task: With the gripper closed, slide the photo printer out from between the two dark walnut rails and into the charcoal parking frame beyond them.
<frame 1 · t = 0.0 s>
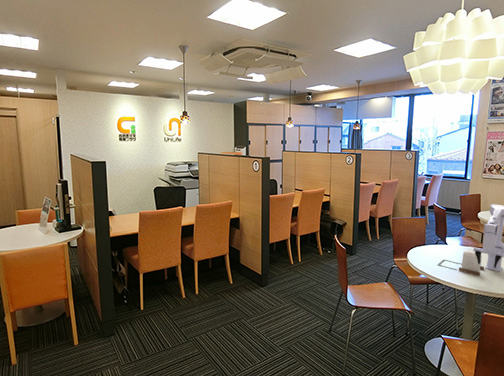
hand: (486, 265, 184), 10 cm above the table, tool pointing down, fingers open, 7 cm apart
walnut rails: (471, 270, 202), on the table
charcoal frame: (450, 264, 210), on the table
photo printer: (470, 270, 202), on the table
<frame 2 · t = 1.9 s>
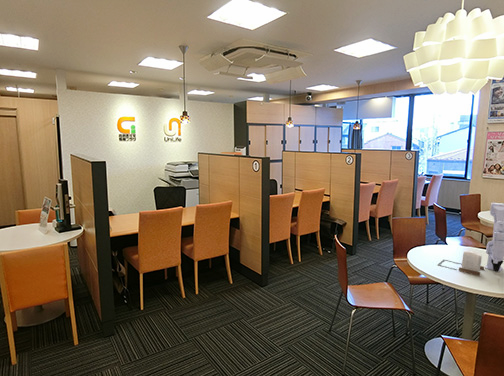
hand: (495, 271, 192), 3 cm above the table, tool pointing down, fingers closed
nothing on the table moved.
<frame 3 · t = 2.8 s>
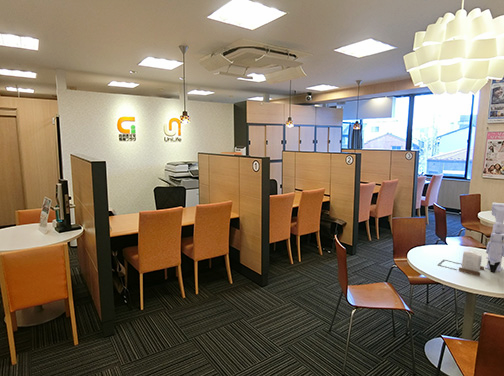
hand: (492, 272, 194), 2 cm above the table, tool pointing down, fingers closed
nothing on the table moved.
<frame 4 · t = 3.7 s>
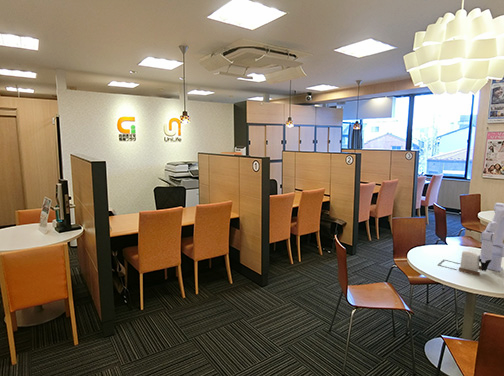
hand: (484, 270, 197), 2 cm above the table, tool pointing down, fingers closed
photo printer: (469, 269, 203), on the table, touching gripper
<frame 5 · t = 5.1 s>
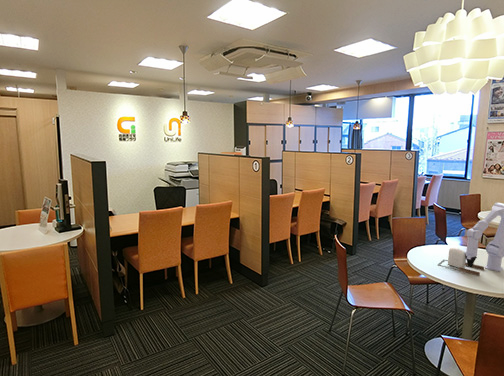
hand: (469, 266, 202), 2 cm above the table, tool pointing down, fingers closed, pressing on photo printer
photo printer: (456, 266, 208), on the table, touching gripper
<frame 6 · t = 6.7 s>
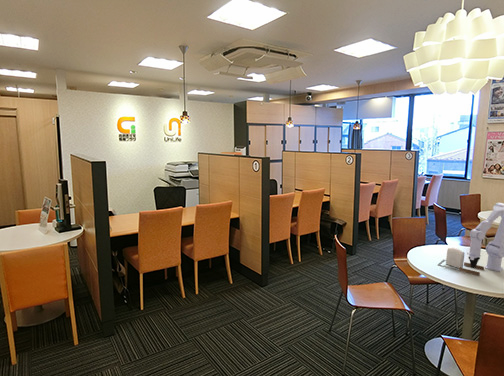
hand: (473, 267, 201), 2 cm above the table, tool pointing down, fingers closed
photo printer: (454, 266, 209), on the table
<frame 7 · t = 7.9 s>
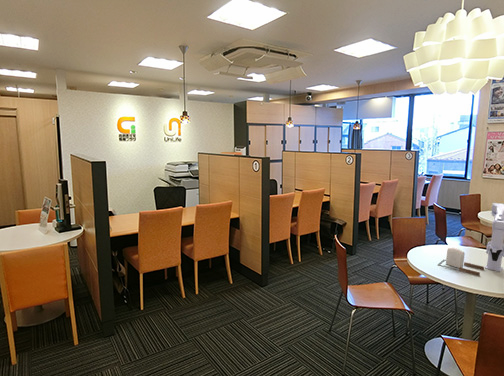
hand: (494, 260, 191), 10 cm above the table, tool pointing down, fingers closed
nothing on the table moved.
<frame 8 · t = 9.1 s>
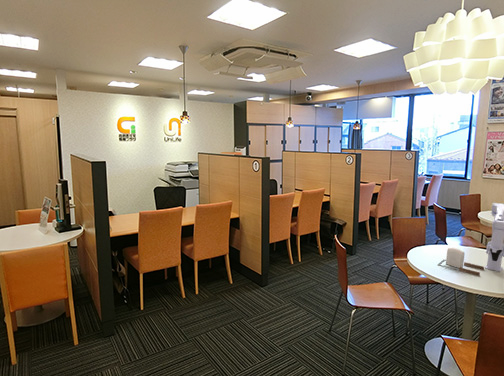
hand: (494, 260, 191), 10 cm above the table, tool pointing down, fingers closed
nothing on the table moved.
at the end: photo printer inside the target area (0.6 cm from its centre), on the table; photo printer tilted 0°; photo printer moved 9.2 cm from its start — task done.
